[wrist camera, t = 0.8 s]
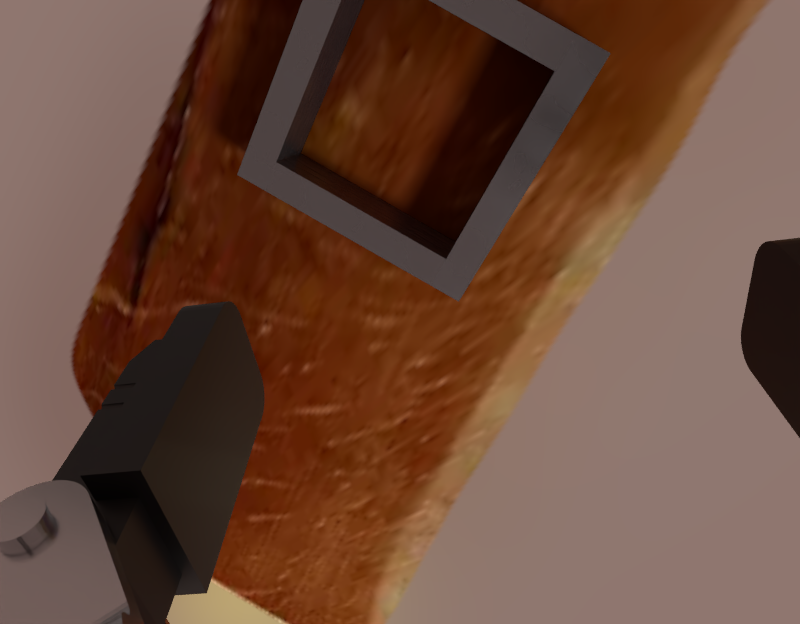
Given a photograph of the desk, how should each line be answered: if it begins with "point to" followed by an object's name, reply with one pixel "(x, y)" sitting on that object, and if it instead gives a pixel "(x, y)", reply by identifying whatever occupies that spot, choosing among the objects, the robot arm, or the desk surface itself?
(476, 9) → the square frame
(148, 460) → the robot arm
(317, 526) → the desk surface
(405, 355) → the desk surface
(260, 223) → the desk surface
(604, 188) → the desk surface
